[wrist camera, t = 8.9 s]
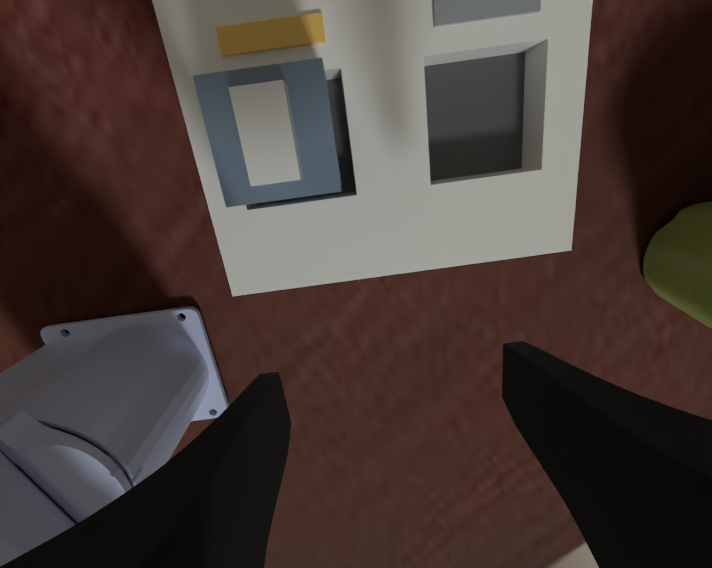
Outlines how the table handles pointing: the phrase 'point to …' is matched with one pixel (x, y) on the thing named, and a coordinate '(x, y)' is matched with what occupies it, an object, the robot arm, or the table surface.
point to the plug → (271, 131)
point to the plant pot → (683, 262)
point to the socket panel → (400, 131)
